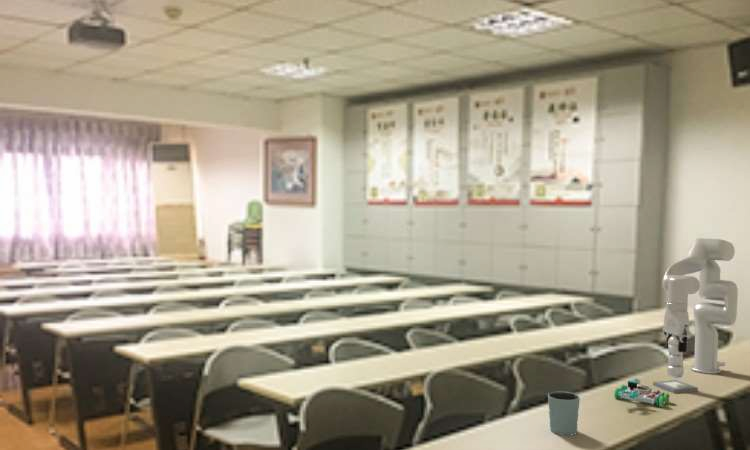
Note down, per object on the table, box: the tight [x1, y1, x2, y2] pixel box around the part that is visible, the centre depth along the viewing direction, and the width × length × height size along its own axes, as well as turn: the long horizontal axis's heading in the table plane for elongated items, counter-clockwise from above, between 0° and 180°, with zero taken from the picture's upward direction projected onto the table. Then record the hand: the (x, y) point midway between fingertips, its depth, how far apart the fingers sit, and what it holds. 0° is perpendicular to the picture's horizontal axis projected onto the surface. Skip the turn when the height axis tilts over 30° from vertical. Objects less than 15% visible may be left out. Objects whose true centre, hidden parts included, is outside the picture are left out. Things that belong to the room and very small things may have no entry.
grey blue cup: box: [547, 390, 581, 436], centre depth 217 cm, size 10×10×12 cm
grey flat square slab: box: [652, 379, 699, 394], centre depth 272 cm, size 12×12×2 cm
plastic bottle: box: [666, 334, 685, 379], centre depth 272 cm, size 6×7×20 cm
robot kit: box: [613, 377, 670, 408], centre depth 250 cm, size 19×25×9 cm
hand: (676, 349), depth 272 cm, fingers closed on plastic bottle, 6 cm apart
